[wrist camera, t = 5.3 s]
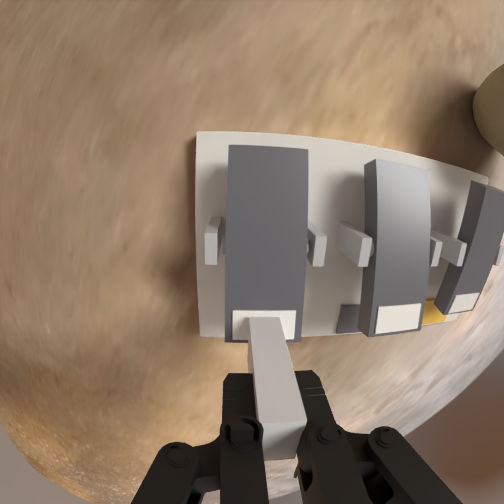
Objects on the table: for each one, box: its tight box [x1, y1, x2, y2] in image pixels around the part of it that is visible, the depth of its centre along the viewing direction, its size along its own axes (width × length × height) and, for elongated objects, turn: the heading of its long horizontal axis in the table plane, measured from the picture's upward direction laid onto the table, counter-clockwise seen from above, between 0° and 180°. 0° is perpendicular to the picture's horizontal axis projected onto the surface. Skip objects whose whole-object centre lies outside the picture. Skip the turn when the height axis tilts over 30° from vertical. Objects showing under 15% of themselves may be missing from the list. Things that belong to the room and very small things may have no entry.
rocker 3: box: [434, 180, 504, 315], centre depth 15 cm, size 10×4×2 cm, turn 178°
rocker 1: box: [222, 145, 309, 343], centre depth 14 cm, size 10×4×2 cm, turn 178°
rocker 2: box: [357, 159, 431, 337], centre depth 15 cm, size 10×4×2 cm, turn 178°
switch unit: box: [195, 132, 504, 337], centre depth 17 cm, size 14×24×5 cm, turn 88°
